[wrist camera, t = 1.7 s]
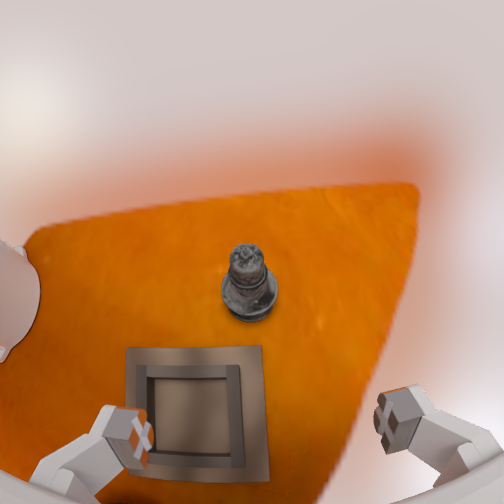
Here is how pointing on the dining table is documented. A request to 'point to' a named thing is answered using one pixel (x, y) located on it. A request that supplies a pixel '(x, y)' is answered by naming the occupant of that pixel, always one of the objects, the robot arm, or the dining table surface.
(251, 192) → the dining table surface
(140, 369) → the walnut board
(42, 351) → the dining table surface
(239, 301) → the grey chess piece
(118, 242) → the dining table surface
